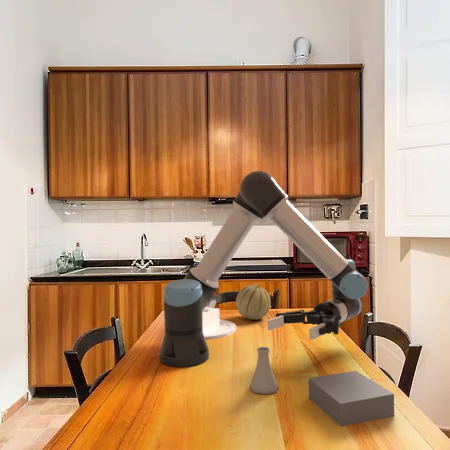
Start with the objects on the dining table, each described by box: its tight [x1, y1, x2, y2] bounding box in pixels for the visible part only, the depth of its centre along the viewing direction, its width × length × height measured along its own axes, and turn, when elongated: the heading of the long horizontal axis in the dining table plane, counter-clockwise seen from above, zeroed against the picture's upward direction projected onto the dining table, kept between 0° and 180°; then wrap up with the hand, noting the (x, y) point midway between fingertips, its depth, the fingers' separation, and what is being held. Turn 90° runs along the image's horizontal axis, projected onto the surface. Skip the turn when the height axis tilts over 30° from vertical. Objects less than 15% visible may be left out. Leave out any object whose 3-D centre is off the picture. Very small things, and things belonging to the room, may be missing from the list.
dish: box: [202, 299, 237, 341], centre depth 145 cm, size 25×25×11 cm
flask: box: [249, 346, 279, 395], centre depth 93 cm, size 7×7×10 cm
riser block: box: [308, 370, 395, 427], centre depth 83 cm, size 13×13×5 cm
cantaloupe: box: [235, 283, 271, 321], centre depth 159 cm, size 15×15×15 cm
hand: (288, 329), depth 100 cm, fingers open, 13 cm apart
